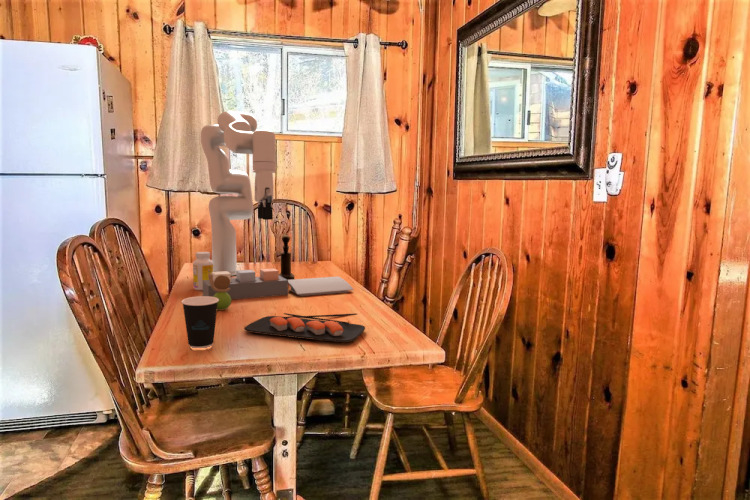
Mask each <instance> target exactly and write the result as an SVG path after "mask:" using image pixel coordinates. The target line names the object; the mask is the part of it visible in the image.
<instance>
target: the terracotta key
mask: <svg viewBox="0 0 750 500" xmlns="http://www.w3.org/2000/svg"><path fill="white" fill-rule="evenodd" d="M279 274H280V272H279V269H276V268H274V267H273V268H259V277H260V279H261V280H263V281H268V280H279Z"/></svg>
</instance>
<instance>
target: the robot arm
mask: <svg viewBox="0 0 750 500" xmlns="http://www.w3.org/2000/svg"><path fill="white" fill-rule="evenodd" d="M257 122H258V121H257V119H256V117H255V116H254V115H253V114H252V113H250V112H243V111H242V112H241V111H233V110H225V111H223V112H221V113H219V115H218V116H217V124H215V123H214V124H211V123H210V124H207V125H204V126H203V127H202V129H201V131H200V143H201V148H202V151H203V153H204V156H205V157H206V158H205V159H206V162H207V168H208V177H209V179H208V180H209V186H210V189H211V191H212V192H213V193H215V194H223V195H221V196H220V195H219V196H218V195H217V196H214V197H213V198H211V199H210V200H209V201H208V213H209V217H210V224H211V225H210V226H211V260H212V261H213V272H221V271H228V272H229V273H231V277H233V276H236V271H239V270H240V269H238V268H237V230H236V227H235V226H234V225H233V224H232V222H231V221H233V220H234V221H237V220H238V221H239V220H240V221H241V220H242V221H243V220H249V219H251V218H252V216H253V215H254V202H253V193H252V192H253V191H252V185H251V184H252V183H251V180H250V177H249V175H248V173H247V172H245V171H242V170H232V169H231V165H230V159H229V157H228V155H227V153H226V152H225V151H224V150H223V149H221V147H224V148H225V147H226V148H227V149H229V151H231V152H232V153H234V154H240V155H241V154H242V155H246V154H247V155H252V173H255V175H254V201H255V202H257V218H258V219H259V220H260V219H262V220H263V221H266V220H267V221H272V220H273V219H274V217H273V216H274V215H273V209H274V208H273V201H274V174H276V169H277V168H276V167H277V166H276V134H275V132H274V131H272V130H268V129H258V123H257ZM224 194H226V195H224ZM234 194H235V195H237V196H233V195H234ZM230 195H231V196H230Z"/></svg>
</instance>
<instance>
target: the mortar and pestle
mask: <svg viewBox="0 0 750 500" xmlns="http://www.w3.org/2000/svg"><path fill="white" fill-rule="evenodd" d="M290 240H291V238H290V235H289V234H283V235H282V237H281V241H282V242H283V246H282V249H283V251H282V252H280V272H279V276H281V277H283V278H285V279H287V280H293V279H295V275H294V274H293V273H292V252H289V250H290V246H289V242H290Z"/></svg>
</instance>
